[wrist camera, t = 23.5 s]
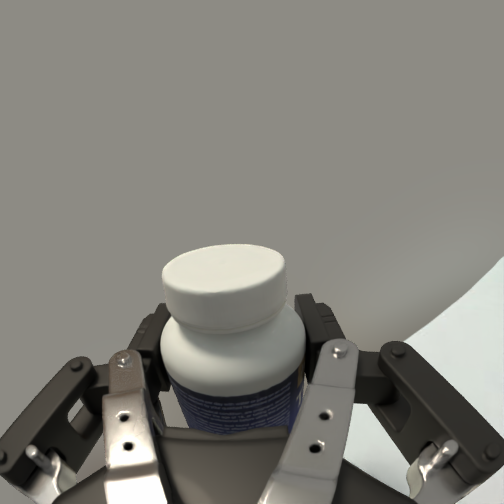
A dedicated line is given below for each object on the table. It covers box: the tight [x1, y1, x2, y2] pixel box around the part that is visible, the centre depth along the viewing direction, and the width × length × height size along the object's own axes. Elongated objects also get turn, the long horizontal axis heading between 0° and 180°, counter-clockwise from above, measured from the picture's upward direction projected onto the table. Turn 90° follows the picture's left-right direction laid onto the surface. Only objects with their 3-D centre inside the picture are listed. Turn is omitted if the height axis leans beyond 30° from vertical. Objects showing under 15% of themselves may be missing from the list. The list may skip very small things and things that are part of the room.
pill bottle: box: [160, 244, 306, 435], centre depth 10 cm, size 5×5×10 cm
